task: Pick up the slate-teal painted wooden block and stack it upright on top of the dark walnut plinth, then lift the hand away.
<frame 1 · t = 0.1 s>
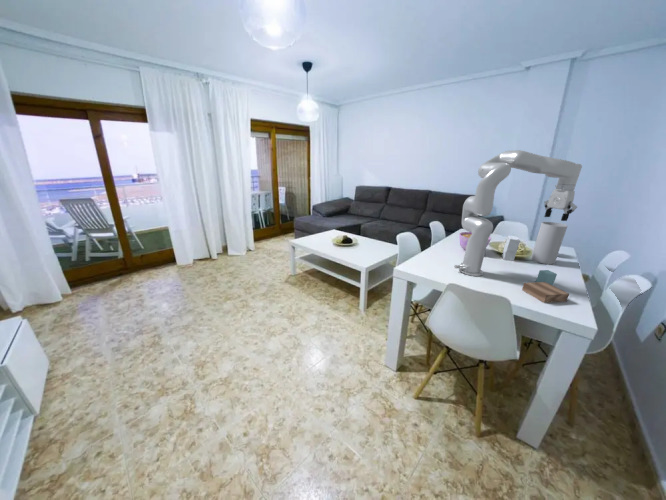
hand: (555, 218, 141), 31 cm above the table, tool pointing down, fingers open, 9 cm apart
walnut plinth: (543, 295, 121), on the table
bowl of food: (471, 251, 181), on the table
teal block: (544, 284, 133), on the table
skincare box: (507, 258, 168), on the table
cylinder vase: (542, 261, 165), on the table
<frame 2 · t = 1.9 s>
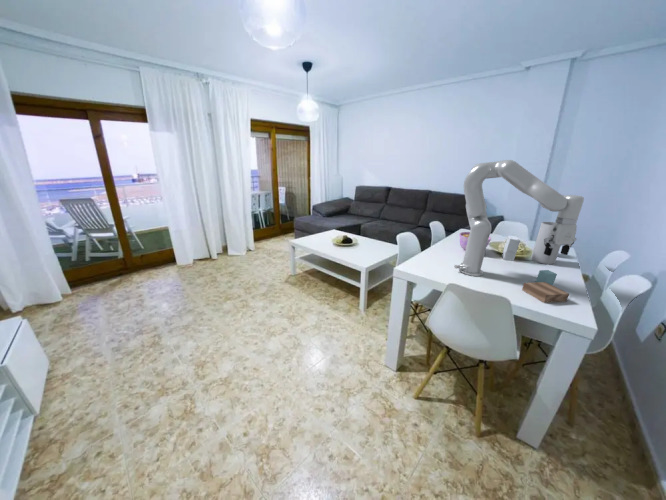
hand: (555, 254, 127), 17 cm above the table, tool pointing down, fingers open, 9 cm apart
nothing on the table moved.
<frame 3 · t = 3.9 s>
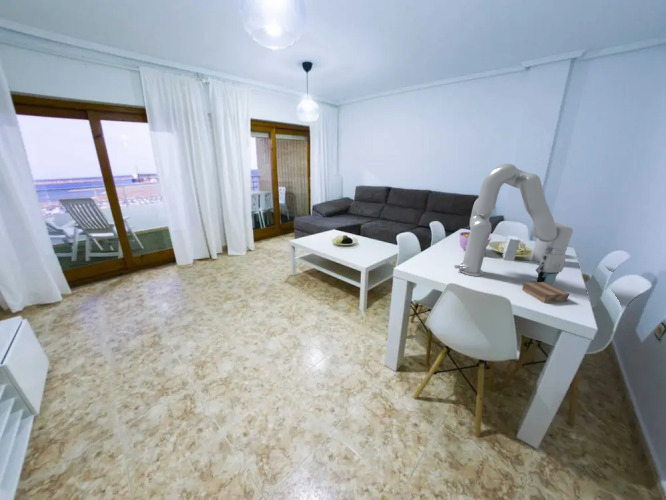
hand: (544, 282, 133), 1 cm above the table, tool pointing down, fingers closed on teal block, 5 cm apart
teal block: (544, 284, 133), on the table, touching gripper
everything else where it was.
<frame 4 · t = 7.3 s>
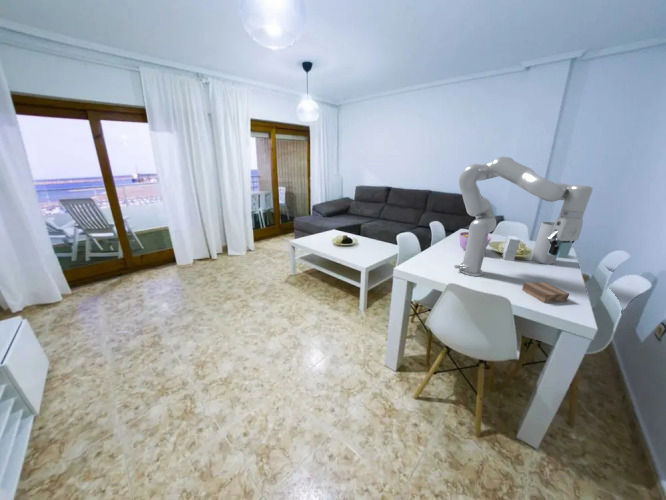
hand: (557, 253, 115), 21 cm above the table, tool pointing down, fingers closed on teal block, 5 cm apart
teal block: (557, 255, 115), point 20 cm above the table, touching gripper
everything else where it was.
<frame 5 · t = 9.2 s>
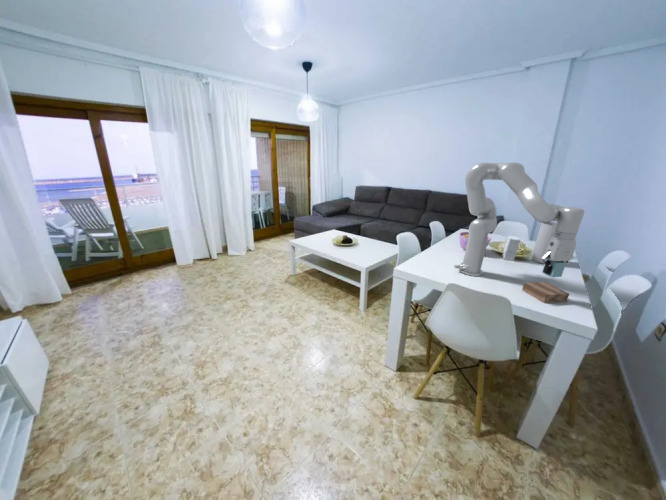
hand: (551, 272, 117), 12 cm above the table, tool pointing down, fingers closed on teal block, 5 cm apart
teal block: (551, 274, 117), point 11 cm above the table, touching gripper
everything else where it was.
when the fingers open (6 cm above the table, at t = 10.8 s): teal block stays where it is, resting on walnut plinth.
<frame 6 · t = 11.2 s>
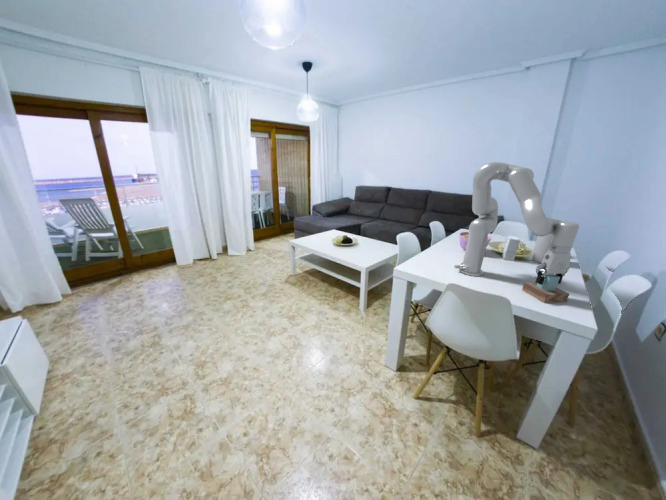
hand: (547, 283, 119), 7 cm above the table, tool pointing down, fingers open, 9 cm apart
teal block: (545, 288, 120), point 4 cm above the table, touching walnut plinth
everything else where it was.
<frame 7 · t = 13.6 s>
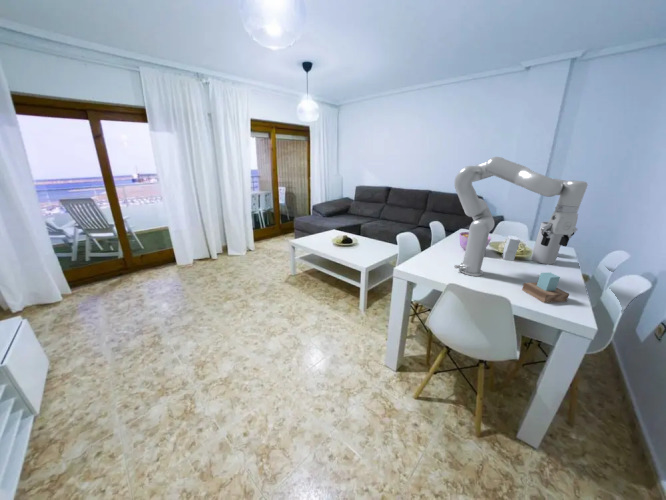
hand: (553, 245, 118), 24 cm above the table, tool pointing down, fingers open, 9 cm apart
nothing on the table moved.
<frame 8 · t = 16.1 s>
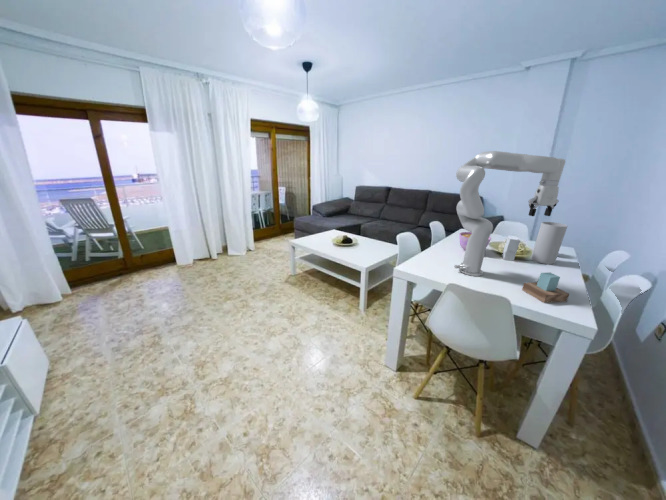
hand: (539, 215, 137), 33 cm above the table, tool pointing down, fingers open, 9 cm apart
nothing on the table moved.
at the end: teal block inside the target area on the walnut plinth (0.0 cm from its centre), point 4.0 cm above the walnut plinth's base; teal block tilted 0°; the gripper is holding nothing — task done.
